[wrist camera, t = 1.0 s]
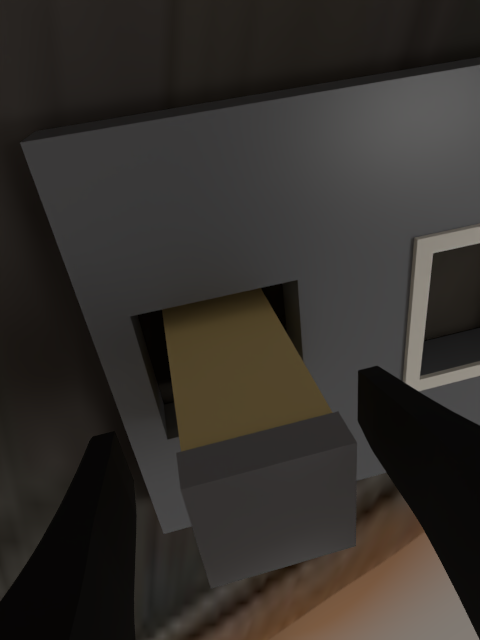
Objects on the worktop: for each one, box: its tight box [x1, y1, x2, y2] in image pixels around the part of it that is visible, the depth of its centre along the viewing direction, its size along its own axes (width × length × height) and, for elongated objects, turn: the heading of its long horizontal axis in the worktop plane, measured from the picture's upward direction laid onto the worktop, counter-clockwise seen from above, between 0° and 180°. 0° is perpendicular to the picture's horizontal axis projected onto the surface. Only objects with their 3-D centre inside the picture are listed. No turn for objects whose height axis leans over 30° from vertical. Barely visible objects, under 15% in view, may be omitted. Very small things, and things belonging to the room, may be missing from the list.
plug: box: [162, 288, 357, 588], centre depth 14 cm, size 4×4×8 cm
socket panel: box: [20, 57, 480, 534], centre depth 17 cm, size 18×16×2 cm
